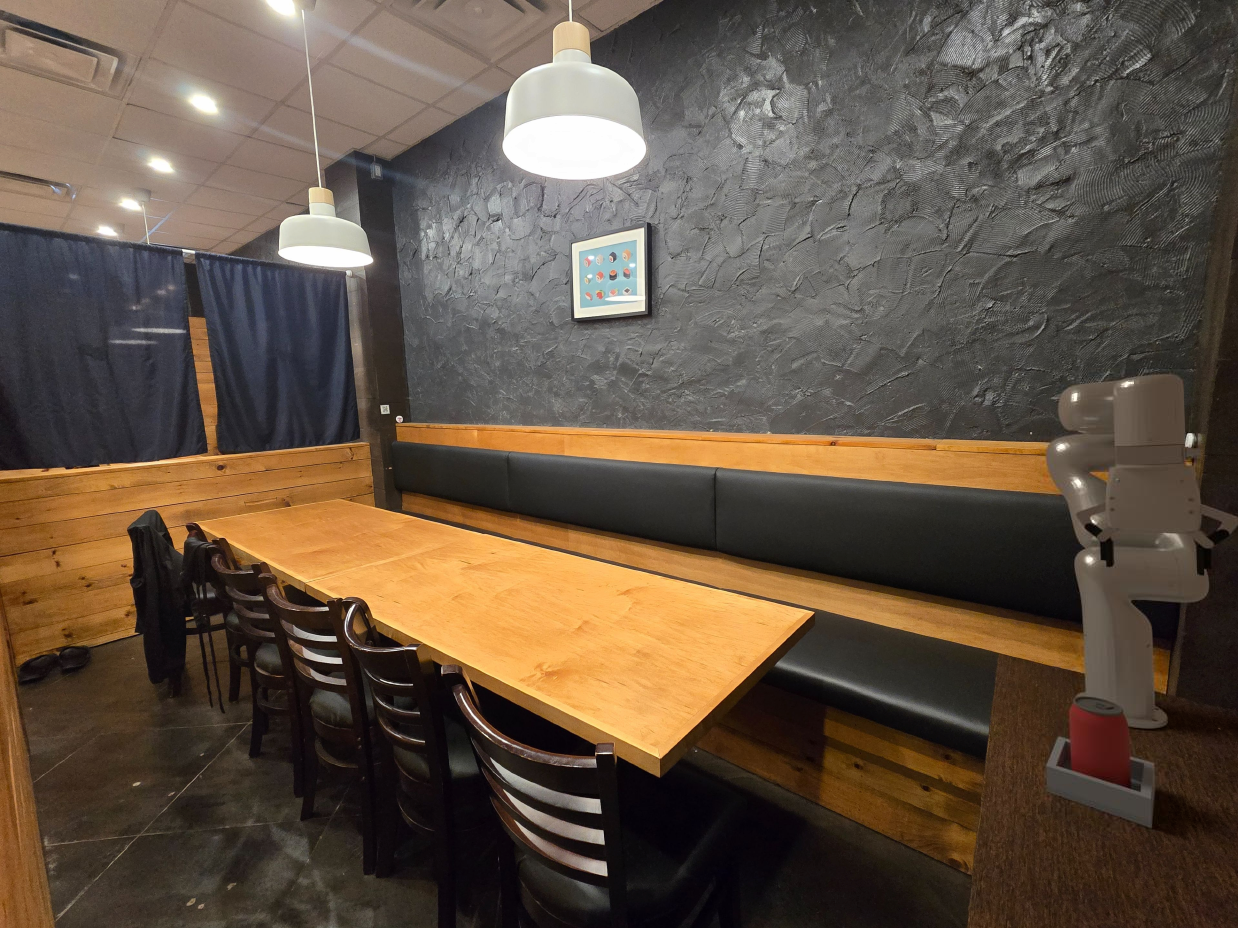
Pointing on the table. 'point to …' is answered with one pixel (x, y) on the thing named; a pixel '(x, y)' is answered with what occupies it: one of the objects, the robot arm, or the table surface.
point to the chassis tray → (1103, 787)
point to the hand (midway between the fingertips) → (1153, 569)
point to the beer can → (1100, 740)
